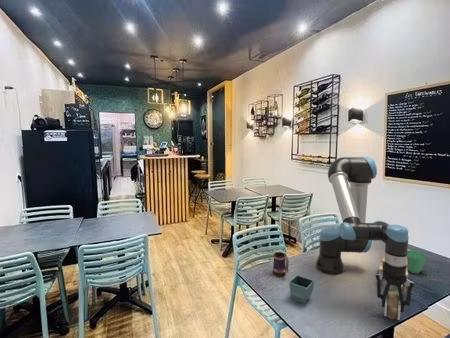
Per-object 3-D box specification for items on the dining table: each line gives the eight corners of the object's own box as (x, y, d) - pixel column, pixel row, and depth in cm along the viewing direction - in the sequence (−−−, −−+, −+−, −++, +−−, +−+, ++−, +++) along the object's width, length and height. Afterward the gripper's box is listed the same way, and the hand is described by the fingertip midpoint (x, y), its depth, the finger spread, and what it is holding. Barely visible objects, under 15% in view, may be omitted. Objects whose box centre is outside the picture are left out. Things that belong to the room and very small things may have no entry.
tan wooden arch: (378, 285, 135) (379, 267, 134) (380, 269, 151) (381, 253, 150) (406, 292, 129) (408, 273, 128) (405, 275, 145) (406, 257, 144)
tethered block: (383, 316, 112) (384, 294, 111) (387, 288, 132) (388, 269, 131) (400, 321, 109) (401, 299, 107) (402, 292, 129) (403, 273, 128)
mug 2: (428, 276, 143) (429, 259, 142) (408, 275, 145) (409, 257, 144) (414, 264, 158) (415, 247, 156) (396, 262, 160) (397, 246, 158)
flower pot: (296, 291, 131) (296, 274, 130) (314, 298, 125) (314, 280, 124) (288, 300, 124) (288, 282, 123) (306, 307, 119) (307, 288, 118)
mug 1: (270, 272, 150) (270, 252, 148) (280, 269, 153) (280, 249, 151) (281, 281, 141) (282, 259, 139) (292, 278, 144) (292, 256, 142)
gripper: (370, 261, 110) (368, 314, 113) (421, 272, 101) (417, 329, 103) (372, 255, 116) (369, 304, 119) (420, 264, 107) (416, 318, 110)
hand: (391, 316), depth 111 cm, fingers closed on tethered block, 4 cm apart
